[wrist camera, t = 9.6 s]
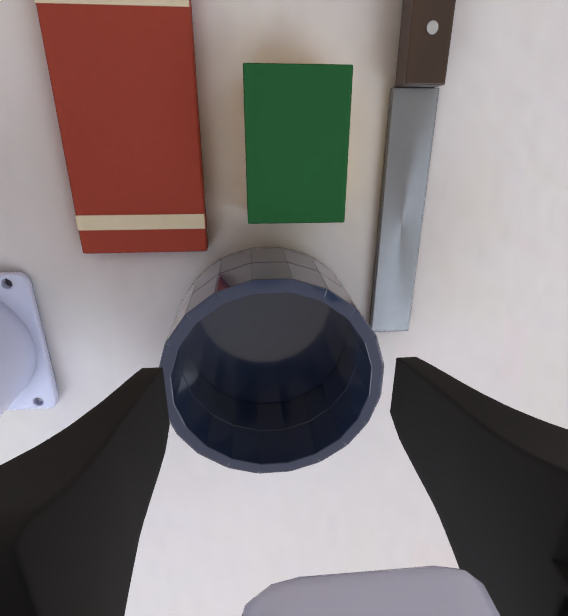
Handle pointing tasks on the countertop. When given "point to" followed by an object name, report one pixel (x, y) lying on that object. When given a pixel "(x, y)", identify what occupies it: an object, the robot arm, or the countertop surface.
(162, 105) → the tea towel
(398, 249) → the knife
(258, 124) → the sponge
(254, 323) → the pot
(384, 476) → the countertop surface
